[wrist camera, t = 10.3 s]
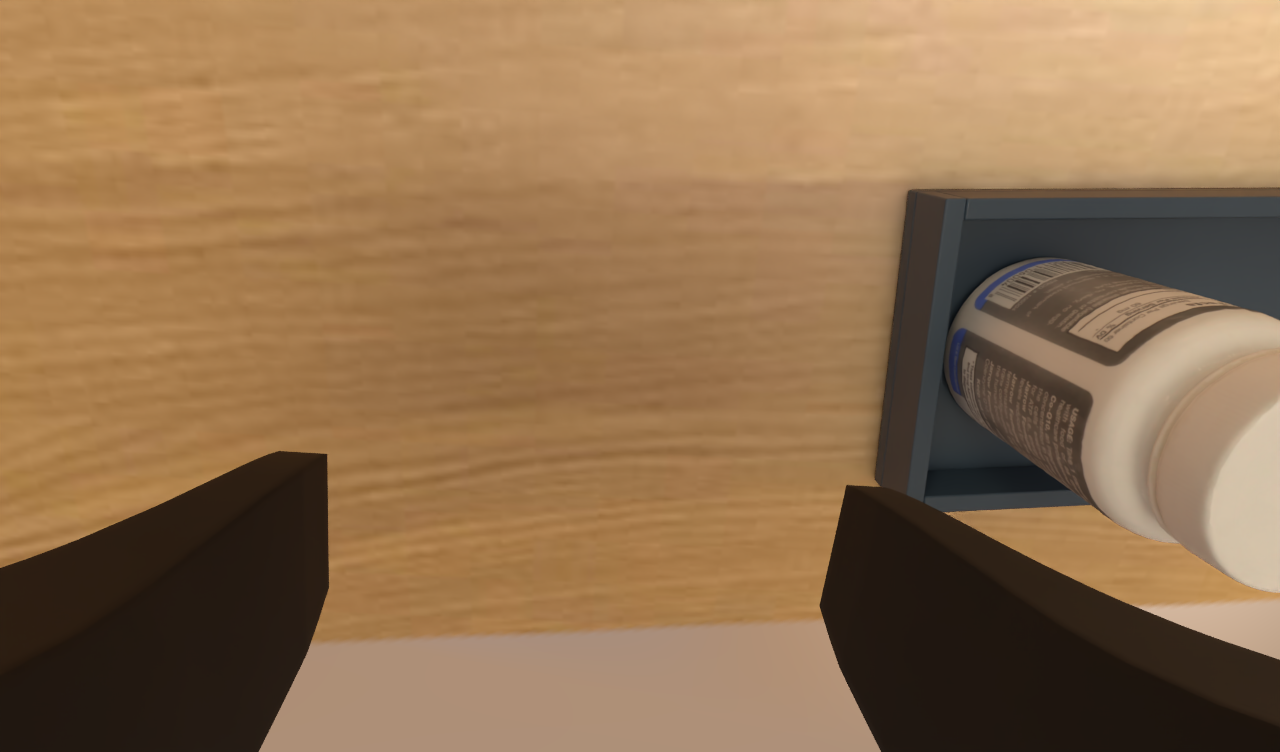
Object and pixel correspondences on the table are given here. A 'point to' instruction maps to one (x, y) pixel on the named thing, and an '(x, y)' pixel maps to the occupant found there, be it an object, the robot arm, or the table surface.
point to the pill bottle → (1133, 403)
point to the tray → (1035, 228)
